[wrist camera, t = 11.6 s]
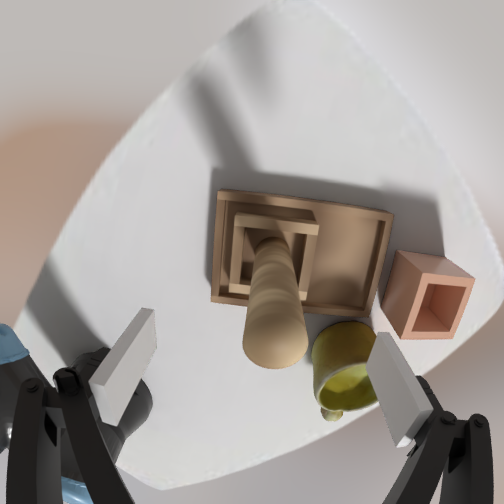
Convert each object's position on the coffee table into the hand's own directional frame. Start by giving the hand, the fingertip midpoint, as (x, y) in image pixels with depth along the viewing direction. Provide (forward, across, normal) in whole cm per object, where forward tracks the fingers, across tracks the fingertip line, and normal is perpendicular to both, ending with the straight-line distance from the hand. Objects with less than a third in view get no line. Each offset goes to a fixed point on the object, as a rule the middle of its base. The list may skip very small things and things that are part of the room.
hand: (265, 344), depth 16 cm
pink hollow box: (+16, +19, -2) cm, 25 cm away
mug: (+17, +11, -13) cm, 24 cm away
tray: (+17, +4, 0) cm, 17 cm away
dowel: (+16, +1, 0) cm, 16 cm away
